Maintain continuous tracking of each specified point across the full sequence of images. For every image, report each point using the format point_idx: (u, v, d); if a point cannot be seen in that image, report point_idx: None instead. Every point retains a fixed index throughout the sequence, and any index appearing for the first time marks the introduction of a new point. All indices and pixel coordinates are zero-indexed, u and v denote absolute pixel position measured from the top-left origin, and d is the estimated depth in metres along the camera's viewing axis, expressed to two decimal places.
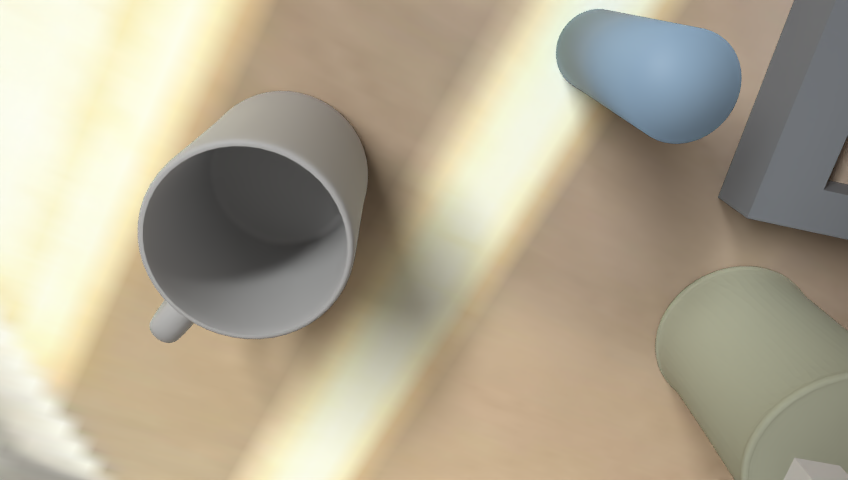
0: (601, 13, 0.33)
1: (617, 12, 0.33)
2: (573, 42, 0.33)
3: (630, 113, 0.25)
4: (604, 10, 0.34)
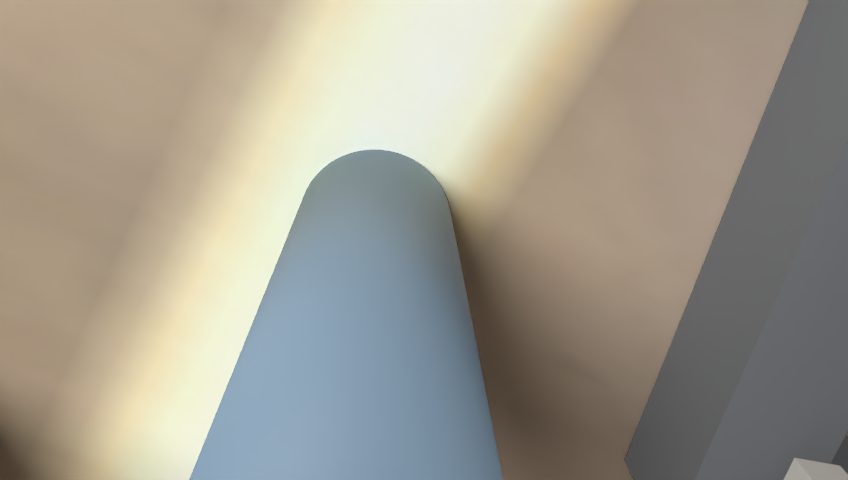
0: (347, 180, 0.16)
1: (374, 183, 0.15)
2: None
3: None
4: (369, 162, 0.17)
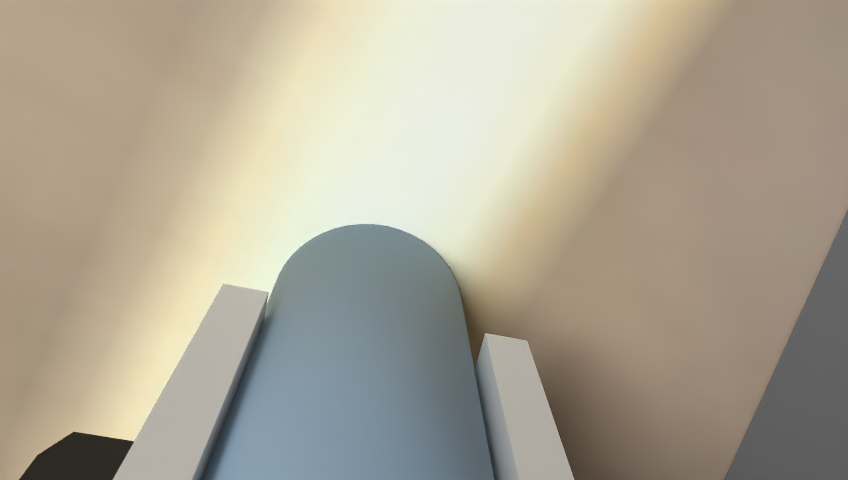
0: (326, 276, 0.12)
1: (362, 283, 0.11)
2: None
3: None
4: (358, 246, 0.13)
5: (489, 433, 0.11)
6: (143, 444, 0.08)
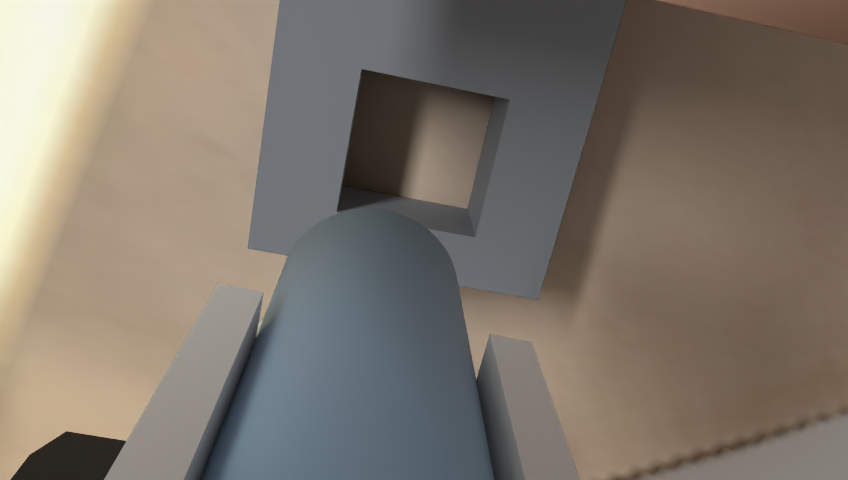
0: (334, 253, 0.13)
1: (366, 258, 0.13)
2: None
3: None
4: (362, 227, 0.14)
5: (495, 434, 0.11)
6: (135, 444, 0.08)
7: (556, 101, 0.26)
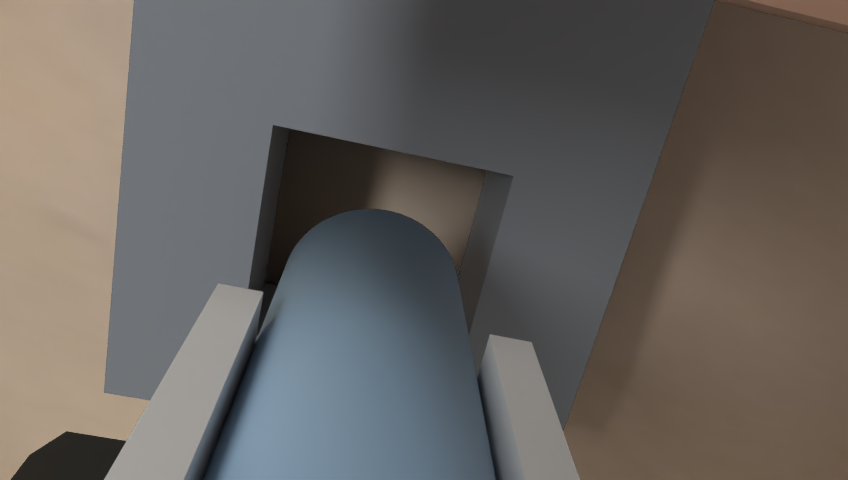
0: (335, 253, 0.13)
1: (368, 258, 0.13)
2: None
3: None
4: (363, 228, 0.14)
5: (495, 434, 0.11)
6: (135, 444, 0.08)
7: (587, 179, 0.17)
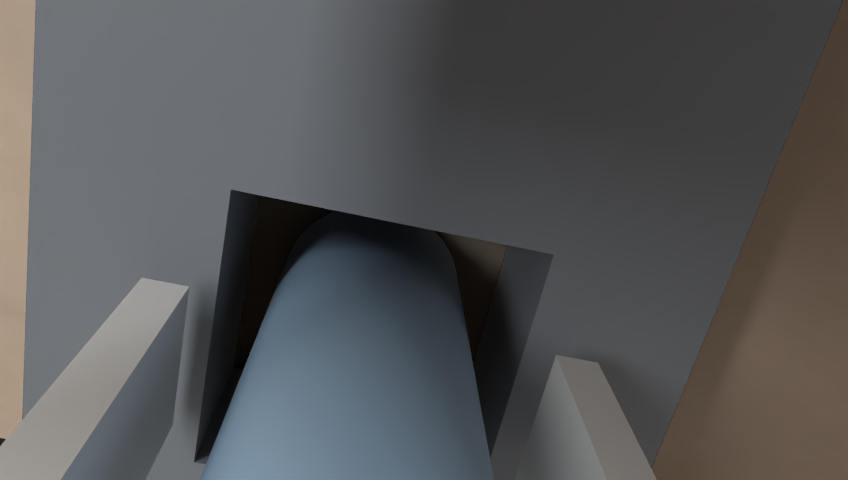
0: (335, 248, 0.13)
1: (367, 253, 0.13)
2: None
3: None
4: (363, 223, 0.14)
5: (572, 459, 0.10)
6: (13, 444, 0.07)
7: (652, 258, 0.12)
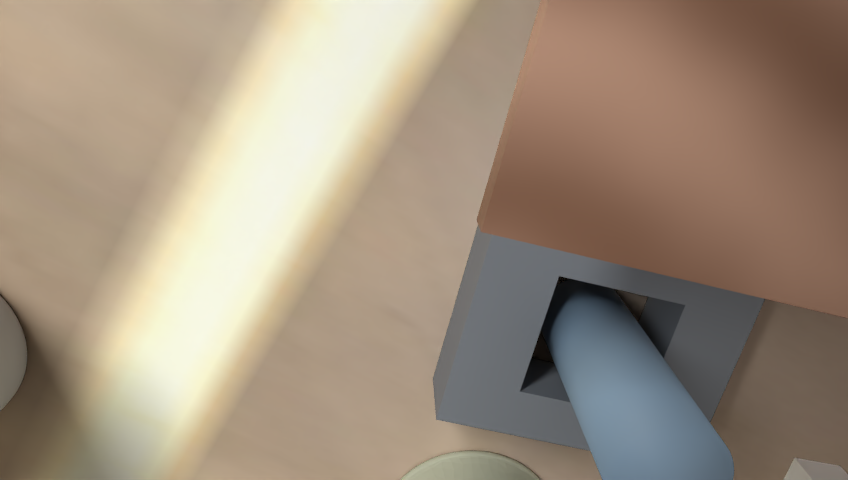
0: (586, 299, 0.31)
1: (603, 301, 0.30)
2: (556, 331, 0.30)
3: None
4: (590, 287, 0.32)
5: None
6: None
7: (725, 307, 0.30)
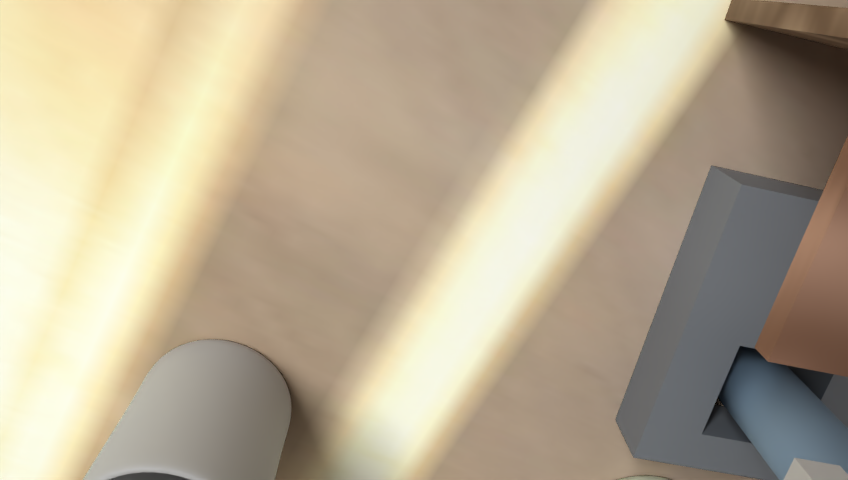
0: (755, 359, 0.38)
1: (770, 362, 0.38)
2: (732, 386, 0.38)
3: None
4: None
5: None
6: None
7: None
